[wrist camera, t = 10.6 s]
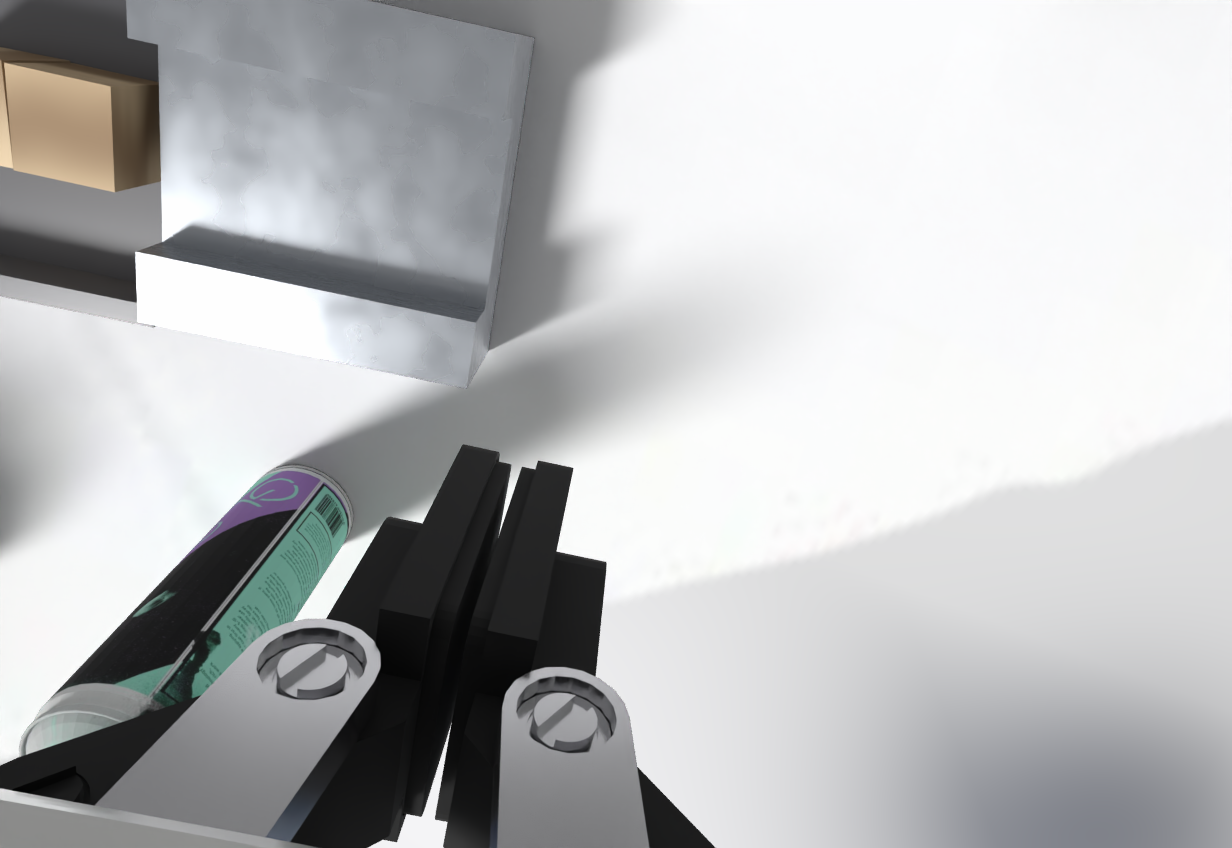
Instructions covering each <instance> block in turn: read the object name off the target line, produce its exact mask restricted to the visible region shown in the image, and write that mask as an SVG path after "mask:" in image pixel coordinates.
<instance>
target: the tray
mask: <svg viewBox="0 0 1232 848" xmlns="http://www.w3.org/2000/svg"><path fill="white" fill-rule="evenodd" d="M0 47H3V48H8V49H13V50H18V51H23V52H28V53H33V54H38V55H43V56H48V57H53V58H58V59H64V60H69V61H70V63H75V64H79V65H84V66H88V67H93V68H97V69H101V70H106V71H110V72H115V73H119V74H124V75H128V76H133V77H137V78H141V79H146V80H150V81H155V82H159V68H158V45H157V44H153V43H148V42H144V41H139V40H134V39H130V38H128V37H127V10H126V0H0ZM161 242H162V199H161V182H156V183H152V184H148V185H144V186H139V187H135V188H131V189H127V190H122V191H118V192H111V191H106V190H102V189H97V188H93V187H88V186H84V185H79V184H74V183H70V182H65V181H61V180H56V179H51V178H47V177H42V176H38V175H33V174H28V173H24V172H19V171H15V170H13V168H8V167H3V166H0V296H2V297H7V298H11V299H16V300H21V301H26V302H31V303H36V304H41V305H46V306H51V307H55V308H60V309H65V310H70V311H75V312H80V313H85V314H90V315H95V316H99V317H104V318H109V319H114V320H119V321H124V322H129V323H134V324H139V325H143V326H148V327H155V326H157V325H152V324H148V323H143V322H138V310H137V282H136V255H135V252H136V251H139V250H142V249H144V248H147V247H150V246H153V245H155V244H158V243H161Z"/></svg>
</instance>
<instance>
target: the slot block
mask: <svg viewBox="0 0 1232 848" xmlns="http://www.w3.org/2000/svg"><path fill="white" fill-rule="evenodd" d="M126 10H127V37H128V38H130V39H134V40H139V41H144V42H148V43H153V44H157V45H158V68H159V112H160V156H161V199H162V242H161V243H158V244H155V245H153V246H150V247H147V248H144V249H142V250H139V251H136V252H135V255H136V282H137V310H138V322H143V323H148V324H152V325H157V326H162V327H167V328H172V329H177V330H182V331H187V332H192V333H196V334H201V335H206V336H211V337H216V338H221V339H226V340H231V341H235V342H240V343H245V344H250V345H255V346H260V347H265V348H270V349H275V350H279V351H284V352H289V353H294V354H299V355H304V356H309V357H314V358H319V359H323V360H328V361H333V362H338V363H343V364H348V365H353V366H358V367H362V368H367V369H372V370H377V371H382V372H387V373H392V374H397V375H402V376H406V377H411V378H416V379H421V380H426V381H431V382H436V383H441V384H446V385H450V386H455V387H460V388H465V389H467V387H468V385H469V384H470V382H471V380H472V378H473V377H474V375H475V373H476V372H477V370H478V368H479V366H480V365H481V363H482V361H483V359H484V358H485V356H486V354H487V352H488V349H489V342H490V335H491V328H492V322H493V315H494V308H495V301H496V295H497V288H498V281H499V274H500V268H501V261H502V254H503V247H504V241H505V234H506V227H507V221H508V214H509V207H510V200H511V194H512V187H513V180H514V173H515V167H516V160H517V153H518V146H519V140H520V133H521V126H522V119H523V113H524V106H525V99H526V93H527V86H528V79H529V72H530V66H531V59H532V52H533V45H534V39H535V38H532V37H528V36H524V35H520V34H515V33H511V32H506V31H502V30H498V29H493V28H489V27H484V26H480V25H475V24H471V23H466V22H462V21H458V20H453V19H449V18H444V17H440V16H435V15H431V14H426V13H422V12H418V11H413V10H409V9H404V8H400V7H395V6H391V5H387V4H382V3H378V2H373V1H369V0H126Z"/></svg>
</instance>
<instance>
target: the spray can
mask: <svg viewBox="0 0 1232 848" xmlns="http://www.w3.org/2000/svg"><path fill="white" fill-rule="evenodd" d="M352 523H353V510H352V507H351V503H350V501H349V499H348V497H347V495H346V493H345V492H344V490H343V489H342V488H341V487H340V485H339V484H338V483H336V482H335V481H334V480H333V479H332V478H331V477H329V476H327V475H326V474H324V473H323V472H320V471H318V470H316V469H314V468H310V467H306V466H299V465H288V466H282V467H278V468H275V469H273V470H271V471H269V472H268V473H266V474H265V475H264V476H263V477H261V478H260V479H259V480H258V481H257V482H256V483H255V484H254V485H253V486H252V487H251V488H250V489H249V490H248V491H247V492H246V493H245V495H244V496H243V497H242V498H241V499H240V500H239V501H238V502H237V503H236V504H235V505H234V506H233V507H232V508H231V509H230V510H229V511H228V512H227V513H226V514H225V516H224V517H223V518H222V519H221V520H220V521H219V522H218V523H217V524H216V525H215V526H214V527H213V528H212V529H211V530H210V531H209V532H208V533H207V534H206V536H205V537H204V538H203V539H202V540H201V541H200V542H199V543H198V544H197V545H196V546H195V547H194V548H193V549H192V550H191V551H190V552H189V553H188V554H187V555H186V557H185V558H184V559H183V560H182V561H181V562H180V563H179V564H178V565H177V566H176V567H175V568H174V569H173V570H172V571H171V572H170V573H169V574H168V575H167V576H166V578H165V579H164V580H163V581H162V582H161V583H160V584H159V585H158V586H157V587H156V588H155V589H154V590H153V591H152V592H151V593H150V594H149V595H148V596H147V597H146V599H145V600H144V601H143V602H142V603H141V604H140V605H139V606H138V607H137V608H136V609H135V610H134V611H133V612H132V613H131V614H130V615H129V616H128V617H127V619H126V620H125V621H124V622H123V623H122V624H121V625H120V626H119V627H118V628H117V629H116V630H115V631H114V632H113V633H112V634H111V635H110V636H109V637H108V638H107V640H106V641H105V642H104V643H103V644H102V645H101V646H100V647H99V648H98V649H97V650H96V651H95V652H94V653H93V654H92V655H91V656H90V657H89V658H88V659H87V661H86V662H85V663H84V664H83V665H82V666H81V667H80V668H79V669H78V670H77V671H76V672H75V673H74V674H73V675H72V676H71V677H70V678H69V679H68V681H67V682H66V683H65V684H64V685H63V686H62V687H61V688H60V689H59V690H58V691H57V692H56V693H55V694H54V695H53V696H52V697H51V698H50V699H49V700H48V702H47V703H46V704H45V705H44V706H43V707H42V708H41V709H40V711H39V712H38V714H37V716H36V717H35V720H34V721H33V722H32V723H31V724H30V725H29V726H28V727H27V729H26V731H25V732H24V734H23V735H22V737H21V741H20V745H19V757H21V756H24V755H27V754H30V753H33V752H35V751H38V750H41V749H44V748H47V747H50V746H53V745H56V744H59V743H62V742H65V741H68V740H71V739H74V738H77V737H80V736H82V735H85V734H88V733H91V732H94V731H97V730H100V729H103V728H106V727H109V726H112V725H115V724H118V723H121V722H124V721H127V720H129V719H132V718H135V717H138V716H141V715H144V714H147V713H150V712H153V711H156V710H159V709H162V708H165V707H168V706H171V705H174V704H176V703H179V702H182V701H185V700H188V699H191V698H194V697H197V696H200V695H202V694H203V693H204V692H205V691H206V690H207V689H208V688H209V687H210V686H211V685H212V684H213V683H214V682H215V681H216V680H217V679H218V678H219V677H220V676H221V674H222V673H223V672H224V671H225V670H226V669H227V668H228V667H229V666H230V665H231V664H232V663H233V662H234V661H235V660H236V659H237V658H238V657H239V656H240V655H241V654H242V653H243V652H244V651H245V650H246V649H247V648H248V647H249V646H250V645H251V644H252V642H254V641H255V640H256V639H258V638H259V637H260V636H262V635H263V634H264V633H265V632H267V631H269V630H271V629H273V628H276V627H278V626H280V625H283V624H285V623H289V622H293V621H294V619H295V618H296V616H297V615H298V613H299V612H300V610H301V609H302V607H303V605H304V604H305V602H306V601H307V599H308V598H309V596H310V595H311V593H312V591H313V590H314V588H315V587H316V585H317V584H318V582H319V581H320V579H321V578H322V576H323V574H324V573H325V571H326V570H327V568H328V567H329V565H330V564H331V562H332V561H333V559H334V557H335V556H336V554H337V553H338V551H339V550H340V548H341V547H342V545H343V544H344V542H345V540H346V539H347V537H348V535H349V533H350V530H351V528H352Z"/></svg>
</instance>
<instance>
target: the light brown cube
mask: <svg viewBox="0 0 1232 848" xmlns="http://www.w3.org/2000/svg"><path fill="white" fill-rule="evenodd" d="M4 67H5V79H6V90H7V101H8V113H9V124H10V136H11V147H12V158H13V170H15V171H19V172H24V173H28V174H33V175H38V176H42V177H47V178H51V179H56V180H61V181H65V182H70V183H74V184H79V185H84V186H88V187H93V188H97V189H102V190H106V191H111V192H118V191H122V190H127V189H131V188H135V187H139V186H144V185H148V184H152V183H156V182H161V156H160V112H159V82H155V81H150V80H146V79H141V78H137V77H133V76H128V75H124V74H119V73H115V72H110V71H106V70H101V69H97V68H93V67H88V66H84V65H79V64H75V63H4Z"/></svg>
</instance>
